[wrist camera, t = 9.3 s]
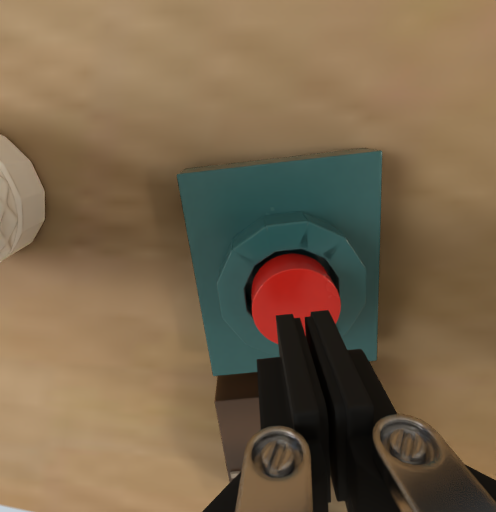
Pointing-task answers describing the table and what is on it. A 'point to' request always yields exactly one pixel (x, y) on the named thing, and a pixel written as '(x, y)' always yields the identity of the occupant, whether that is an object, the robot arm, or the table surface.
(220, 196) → the button block
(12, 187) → the white cup
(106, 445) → the table surface
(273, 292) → the button
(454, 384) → the table surface
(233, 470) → the dial panel
